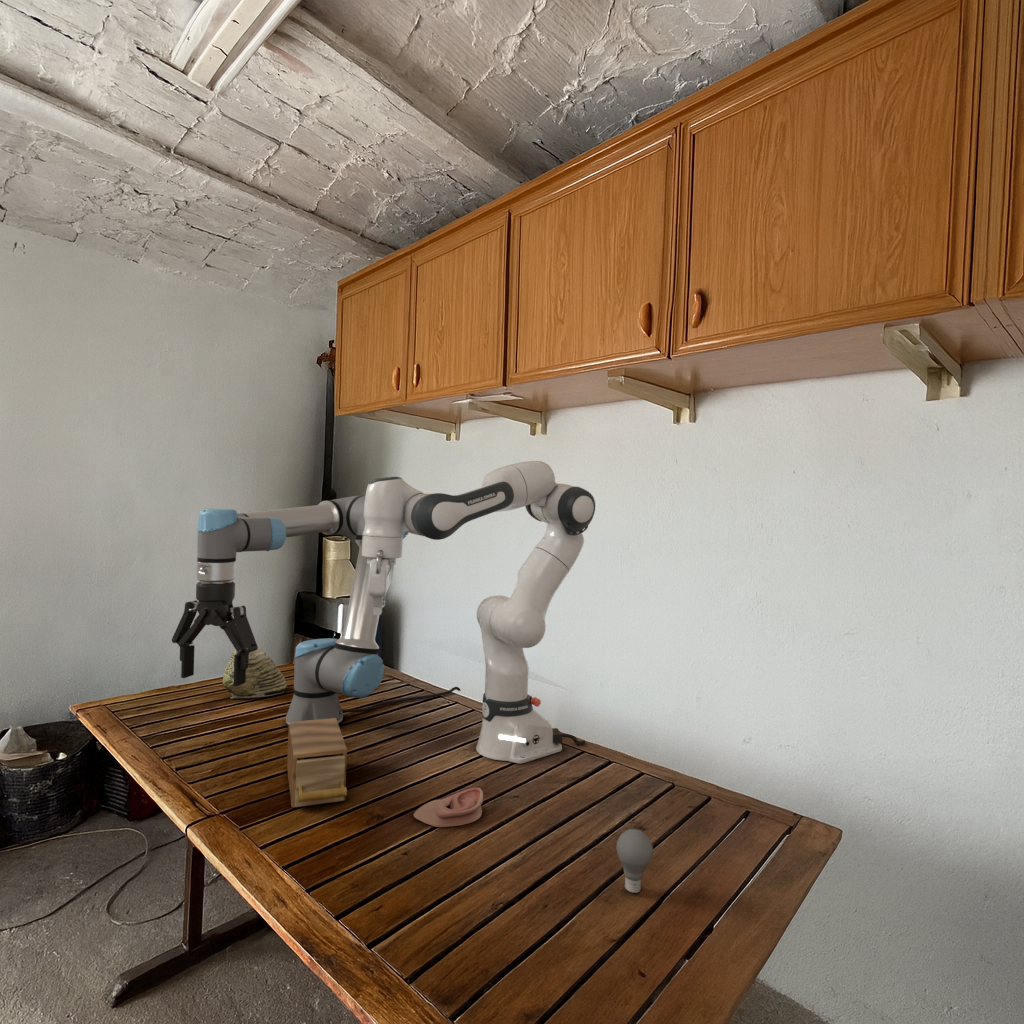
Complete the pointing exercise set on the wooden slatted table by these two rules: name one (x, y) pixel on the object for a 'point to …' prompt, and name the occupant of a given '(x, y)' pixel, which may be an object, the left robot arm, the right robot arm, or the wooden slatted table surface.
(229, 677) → the fossil
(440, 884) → the wooden slatted table surface
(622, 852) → the light bulb
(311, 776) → the drawer
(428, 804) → the anatomical model
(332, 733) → the cabinet
